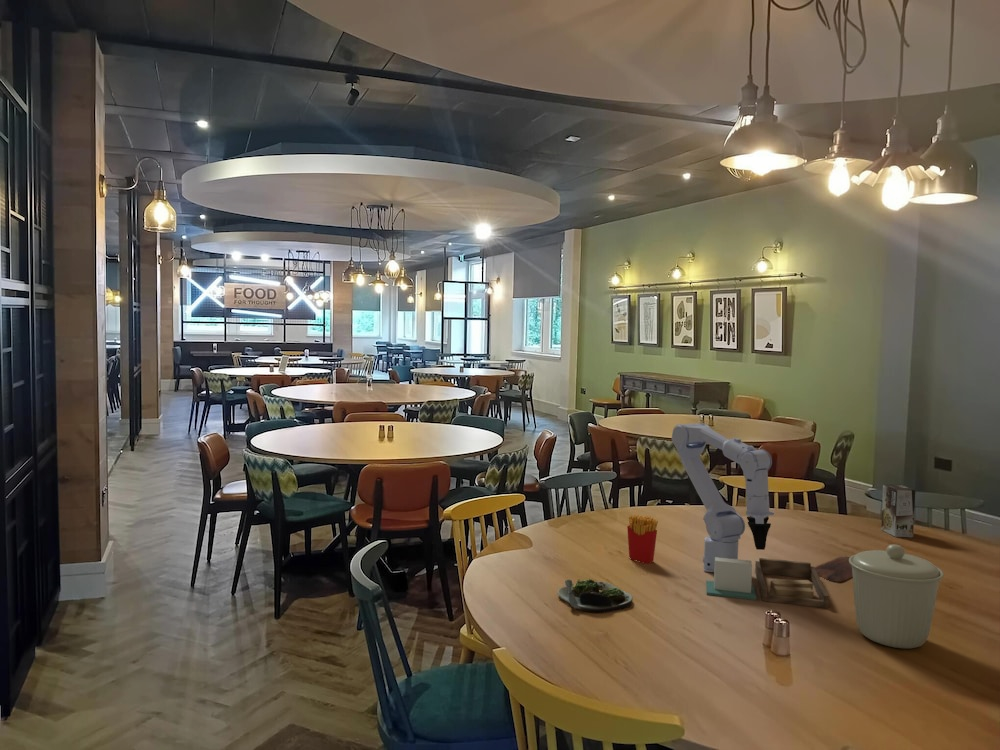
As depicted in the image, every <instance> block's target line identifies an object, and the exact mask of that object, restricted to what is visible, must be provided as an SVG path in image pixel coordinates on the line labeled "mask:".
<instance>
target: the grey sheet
mask: <svg viewBox="0 0 1000 750" xmlns="http://www.w3.org/2000/svg"><path fill="white" fill-rule="evenodd" d="M752 572H753V562H752V560H748V559H739V558H738V559H729V558H718V557H715V570H714V572H713V574H714V577H713V578H714V579H713V581H714V589H718V590H728V591H737V592H746V593H751V585H752V578H753V577H752Z"/></svg>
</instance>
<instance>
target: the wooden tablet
mask: <svg viewBox="0 0 1000 750" xmlns="http://www.w3.org/2000/svg"><path fill="white" fill-rule="evenodd" d="M850 557H851V556H845V557H843V556H840V557H836V558H833V559H831V560H828V561H826V562H823V563H821V564H819V565H816V566H813V567H814V568H815V570H816V572H817V574H818V576H819V578H821V577H822V578H821V579H823V578H824V579H823V580H825V579H826V581H828V580H829V581H828V582H832V583H836V582H837V584H840V583H842V582H844V581H848V580H849V579H852V578H853V574H852V565H851V564H850V563H849V558H850Z"/></svg>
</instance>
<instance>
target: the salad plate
mask: <svg viewBox="0 0 1000 750" xmlns="http://www.w3.org/2000/svg"><path fill="white" fill-rule="evenodd" d="M564 583H565V586H563V587H560V588H559V589H558V590H557V594H558V596H559V597H560V598H561V599H562V600H563V601H565V602H566V603H567V604H569V605H570V606H571V607H572V608H574V609H575V610H577V611H580V612H584V613H589V614H590V613H591V614H604V613H610V612H616V611H620V610H623V609H626V608H628V607H629V606H631V605H632V603H633V596H632V594H630V593H628V592H627V591H624V590H622V589H620V588H618V587H617V586H615V585H613V584H612V583H608V582H604V581H596V580H595V581H594V580H593V579H592V578H591V579H590V578H588V579H584V580H581V579H580V578H578V579H577V581H576V583H575V584H574V583H573V582H572V579H566V580H565V581H564ZM599 590H601V591H599Z"/></svg>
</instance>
